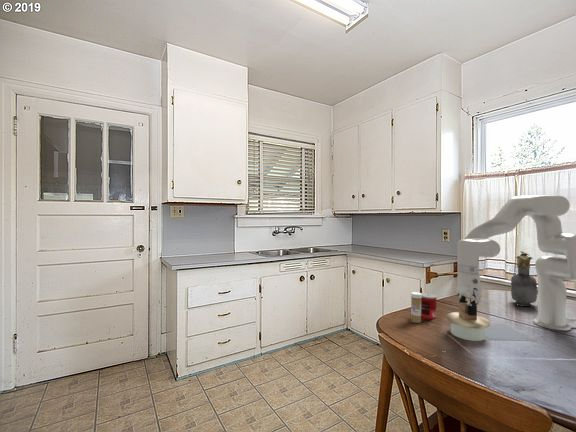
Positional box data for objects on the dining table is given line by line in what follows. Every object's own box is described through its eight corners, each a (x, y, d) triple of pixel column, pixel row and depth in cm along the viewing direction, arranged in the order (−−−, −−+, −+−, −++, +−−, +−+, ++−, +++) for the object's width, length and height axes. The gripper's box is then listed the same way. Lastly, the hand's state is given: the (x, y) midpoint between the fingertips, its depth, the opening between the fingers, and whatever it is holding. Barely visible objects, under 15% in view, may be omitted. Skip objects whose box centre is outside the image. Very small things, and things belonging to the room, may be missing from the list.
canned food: (435, 315, 143) (435, 293, 143) (437, 321, 135) (437, 298, 135) (418, 313, 145) (418, 292, 145) (420, 319, 138) (420, 296, 138)
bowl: (473, 330, 125) (473, 316, 125) (491, 342, 113) (492, 327, 113) (445, 329, 125) (445, 315, 125) (460, 341, 113) (461, 326, 113)
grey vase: (511, 306, 156) (512, 252, 156) (509, 298, 172) (510, 248, 171) (538, 310, 150) (538, 253, 150) (533, 301, 165) (534, 250, 165)
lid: (474, 315, 126) (475, 299, 126) (498, 328, 111) (498, 310, 111) (440, 314, 127) (440, 298, 127) (459, 328, 112) (459, 309, 112)
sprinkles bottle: (409, 321, 134) (409, 293, 134) (412, 319, 138) (412, 291, 138) (419, 324, 131) (420, 295, 131) (422, 321, 135) (422, 292, 135)
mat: (504, 324, 131) (504, 323, 131) (536, 342, 113) (536, 340, 113) (464, 323, 132) (464, 322, 132) (490, 341, 114) (490, 339, 114)
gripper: (491, 273, 110) (490, 320, 110) (465, 265, 127) (464, 306, 127) (471, 273, 110) (470, 320, 110) (448, 265, 127) (447, 305, 128)
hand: (467, 312), depth 119 cm, fingers open, 5 cm apart
